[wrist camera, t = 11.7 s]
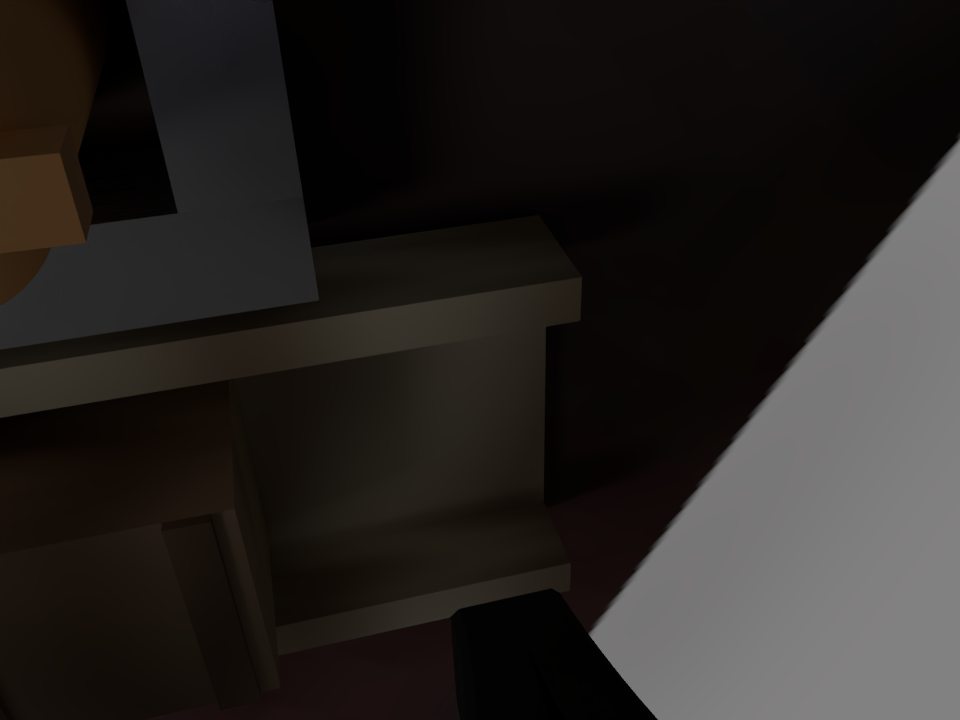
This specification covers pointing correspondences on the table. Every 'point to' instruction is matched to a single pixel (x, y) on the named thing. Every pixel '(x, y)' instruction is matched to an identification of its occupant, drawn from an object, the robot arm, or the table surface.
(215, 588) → the crate
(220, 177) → the grey rectangular frame
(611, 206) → the table surface
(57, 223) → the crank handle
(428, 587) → the bay
